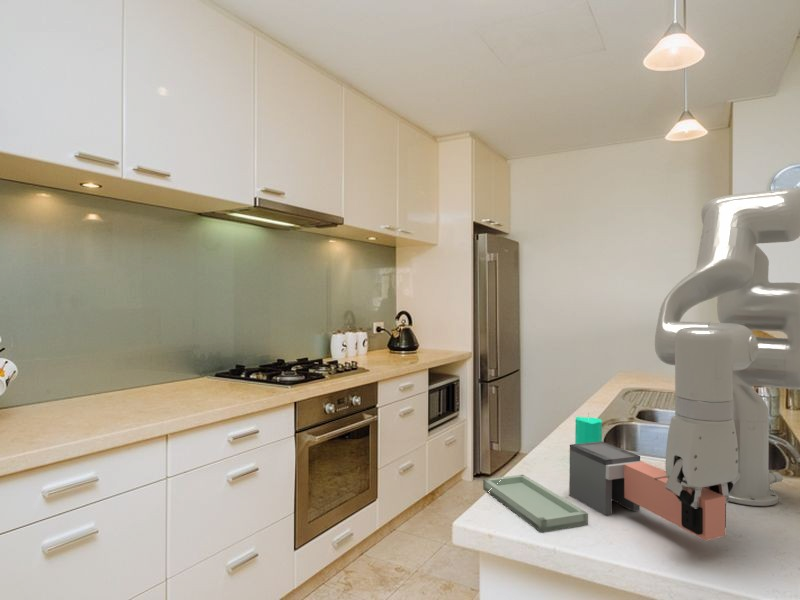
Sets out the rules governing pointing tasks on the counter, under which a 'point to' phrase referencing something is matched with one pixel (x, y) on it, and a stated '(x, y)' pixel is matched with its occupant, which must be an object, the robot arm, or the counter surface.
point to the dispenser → (599, 475)
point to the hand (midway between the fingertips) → (703, 526)
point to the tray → (535, 503)
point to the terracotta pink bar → (671, 499)
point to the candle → (588, 430)
